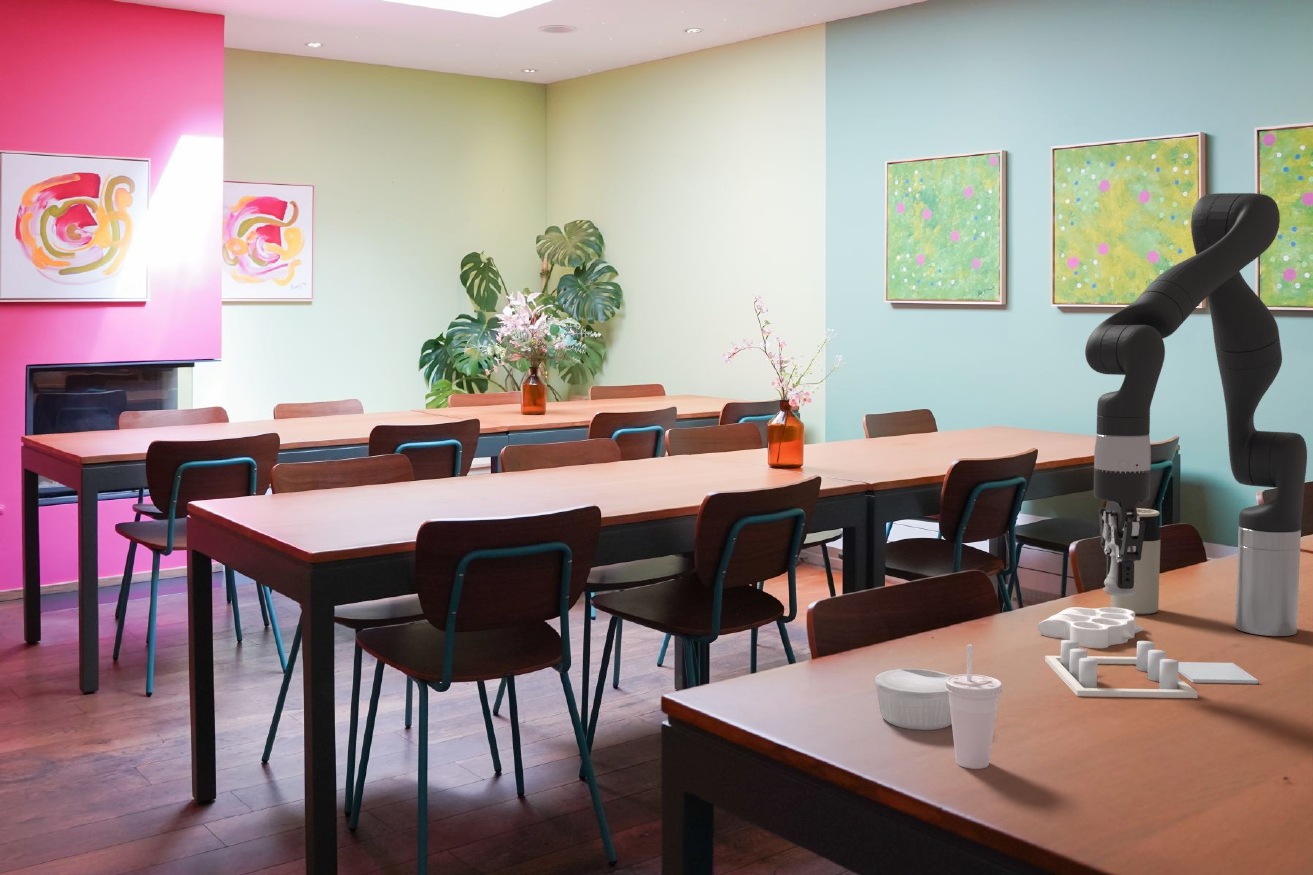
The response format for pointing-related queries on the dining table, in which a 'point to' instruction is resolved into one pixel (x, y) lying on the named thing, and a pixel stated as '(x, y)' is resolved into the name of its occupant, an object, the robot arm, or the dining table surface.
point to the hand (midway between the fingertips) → (1119, 583)
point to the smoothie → (973, 715)
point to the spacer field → (1145, 661)
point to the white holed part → (1092, 626)
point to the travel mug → (1145, 570)
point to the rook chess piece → (1115, 577)
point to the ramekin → (914, 698)
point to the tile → (1214, 673)
